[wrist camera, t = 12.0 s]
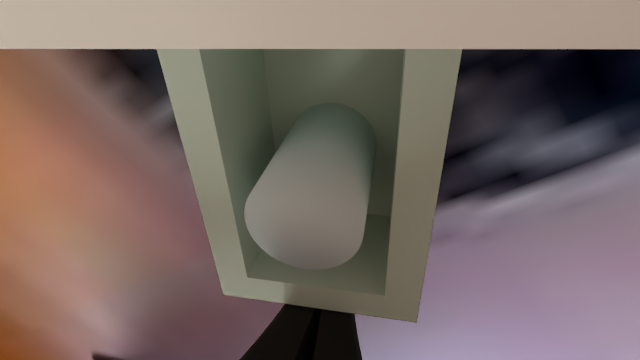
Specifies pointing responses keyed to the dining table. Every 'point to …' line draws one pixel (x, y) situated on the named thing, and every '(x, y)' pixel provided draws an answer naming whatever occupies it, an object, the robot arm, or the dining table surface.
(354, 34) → the counter
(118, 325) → the dining table surface
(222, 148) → the tray
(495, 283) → the dining table surface
